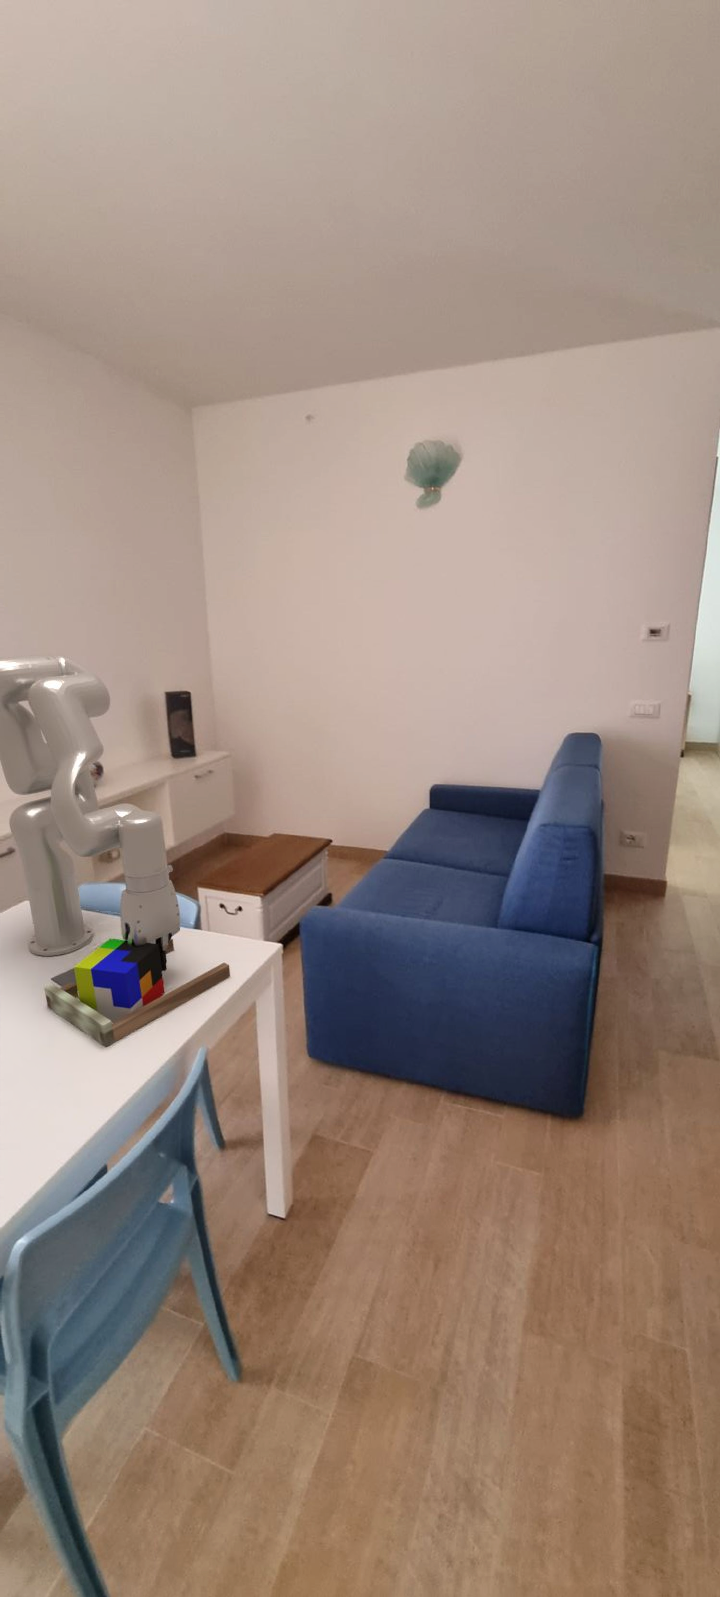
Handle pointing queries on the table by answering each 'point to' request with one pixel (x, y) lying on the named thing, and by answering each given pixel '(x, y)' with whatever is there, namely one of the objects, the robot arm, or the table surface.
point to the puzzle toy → (120, 978)
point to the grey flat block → (65, 978)
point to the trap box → (111, 1032)
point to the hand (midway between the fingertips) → (158, 969)
